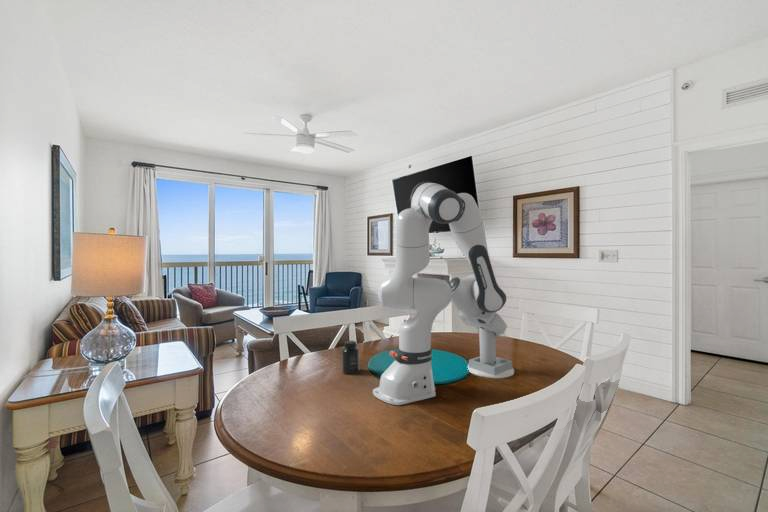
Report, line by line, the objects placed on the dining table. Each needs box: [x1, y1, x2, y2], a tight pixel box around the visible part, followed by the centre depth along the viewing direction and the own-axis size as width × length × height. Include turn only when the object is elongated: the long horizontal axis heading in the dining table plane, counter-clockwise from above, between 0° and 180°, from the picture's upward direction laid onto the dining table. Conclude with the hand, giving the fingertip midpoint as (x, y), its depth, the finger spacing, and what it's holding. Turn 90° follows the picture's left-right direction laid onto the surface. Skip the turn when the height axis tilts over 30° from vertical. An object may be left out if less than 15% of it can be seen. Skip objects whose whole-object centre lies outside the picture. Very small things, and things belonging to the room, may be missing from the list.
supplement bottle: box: [341, 340, 360, 375], centre depth 143 cm, size 7×7×12 cm
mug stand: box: [466, 356, 515, 380], centre depth 143 cm, size 18×18×4 cm
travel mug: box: [478, 327, 497, 366], centre depth 143 cm, size 6×7×20 cm
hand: (491, 333), depth 143 cm, fingers closed on travel mug, 6 cm apart
